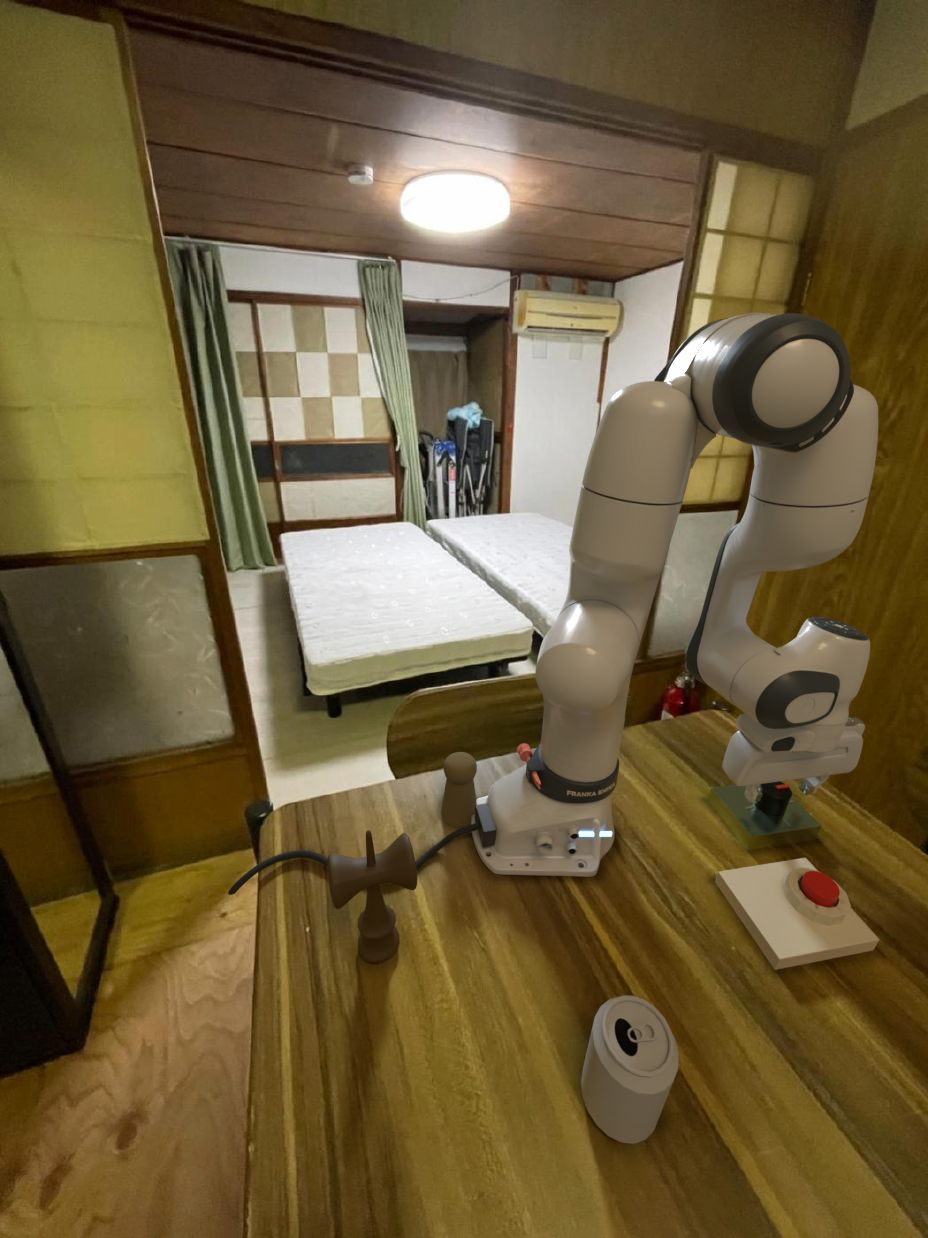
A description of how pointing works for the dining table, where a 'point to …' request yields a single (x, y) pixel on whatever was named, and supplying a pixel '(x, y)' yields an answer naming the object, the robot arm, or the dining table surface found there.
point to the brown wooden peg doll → (459, 789)
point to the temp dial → (774, 797)
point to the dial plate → (761, 819)
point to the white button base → (792, 915)
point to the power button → (819, 888)
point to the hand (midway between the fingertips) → (779, 795)
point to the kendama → (373, 892)
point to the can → (628, 1068)
